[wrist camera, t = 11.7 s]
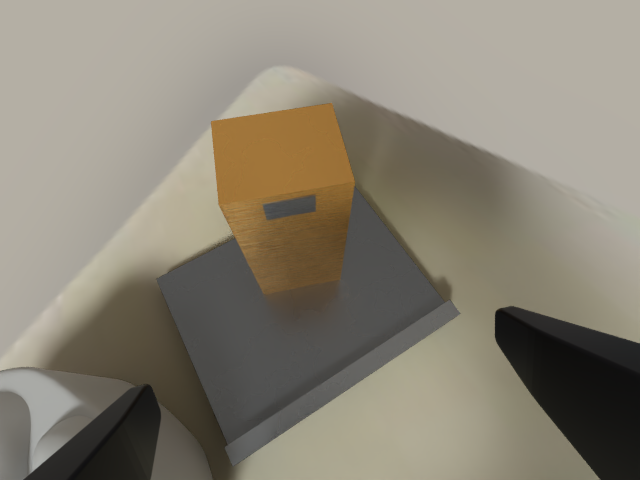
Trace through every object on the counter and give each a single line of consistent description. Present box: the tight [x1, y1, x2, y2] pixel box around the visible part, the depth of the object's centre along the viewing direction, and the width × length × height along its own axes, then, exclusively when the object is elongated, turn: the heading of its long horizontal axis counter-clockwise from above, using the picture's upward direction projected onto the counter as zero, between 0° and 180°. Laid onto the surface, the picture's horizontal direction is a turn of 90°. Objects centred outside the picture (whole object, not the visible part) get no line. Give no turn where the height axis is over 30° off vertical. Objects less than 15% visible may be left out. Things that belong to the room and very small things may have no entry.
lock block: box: [211, 103, 355, 294], centre depth 19 cm, size 4×5×11 cm
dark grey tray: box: [157, 186, 461, 466], centre depth 23 cm, size 15×12×2 cm
